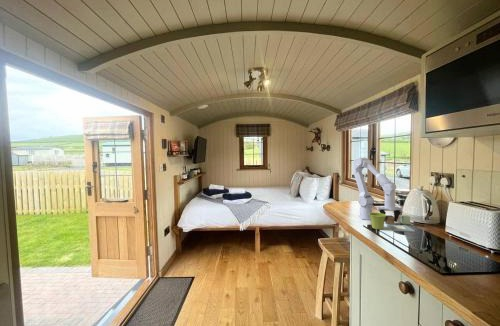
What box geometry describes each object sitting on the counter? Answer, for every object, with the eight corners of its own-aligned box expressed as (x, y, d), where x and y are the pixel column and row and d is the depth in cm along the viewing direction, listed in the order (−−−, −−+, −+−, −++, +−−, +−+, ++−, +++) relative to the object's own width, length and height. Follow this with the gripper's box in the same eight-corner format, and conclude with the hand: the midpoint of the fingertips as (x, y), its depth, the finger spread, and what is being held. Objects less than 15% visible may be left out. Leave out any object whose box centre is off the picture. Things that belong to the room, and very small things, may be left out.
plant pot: (365, 227, 140) (365, 213, 140) (375, 225, 144) (375, 211, 144) (379, 231, 132) (379, 217, 131) (389, 229, 136) (389, 215, 135)
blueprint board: (386, 225, 143) (386, 224, 142) (405, 226, 140) (405, 225, 140) (394, 231, 132) (394, 229, 132) (414, 231, 130) (414, 230, 129)
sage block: (400, 222, 148) (400, 215, 148) (407, 222, 148) (407, 215, 148) (403, 224, 145) (403, 216, 144) (410, 224, 144) (410, 216, 144)
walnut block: (385, 222, 149) (385, 215, 148) (391, 222, 148) (391, 215, 148) (387, 224, 145) (387, 216, 145) (394, 224, 144) (394, 217, 144)
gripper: (379, 201, 143) (379, 222, 144) (404, 202, 140) (405, 223, 141) (375, 199, 150) (376, 219, 151) (399, 200, 147) (399, 220, 148)
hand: (389, 221), depth 146 cm, fingers open, 6 cm apart
